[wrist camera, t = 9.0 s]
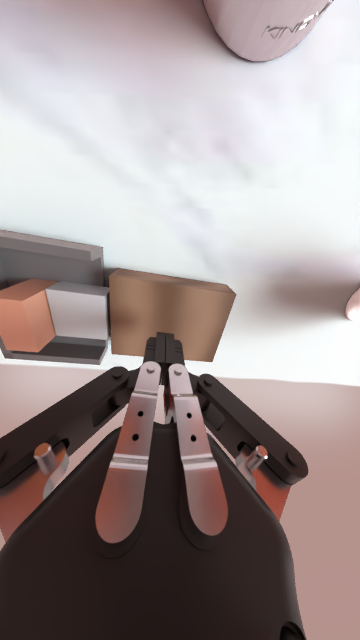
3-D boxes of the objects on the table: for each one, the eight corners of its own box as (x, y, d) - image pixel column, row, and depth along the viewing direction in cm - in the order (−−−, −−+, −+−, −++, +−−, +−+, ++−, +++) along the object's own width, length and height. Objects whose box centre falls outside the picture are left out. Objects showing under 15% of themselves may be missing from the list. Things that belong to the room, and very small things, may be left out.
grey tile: (112, 287, 17) (104, 296, 15) (113, 327, 20) (107, 339, 18) (61, 280, 17) (45, 289, 14) (68, 323, 19) (56, 335, 17)
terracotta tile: (22, 301, 12) (-17, 296, 12) (38, 352, 15) (6, 350, 14) (59, 281, 17) (32, 278, 16) (67, 323, 19) (43, 321, 19)
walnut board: (226, 284, 19) (236, 294, 16) (206, 346, 23) (212, 362, 20) (117, 268, 17) (109, 275, 14) (118, 338, 21) (111, 354, 19)
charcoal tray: (102, 247, 16) (90, 251, 13) (107, 348, 22) (99, 364, 19) (-14, 227, 14) (-54, 227, 12) (25, 341, 20) (4, 358, 18)
